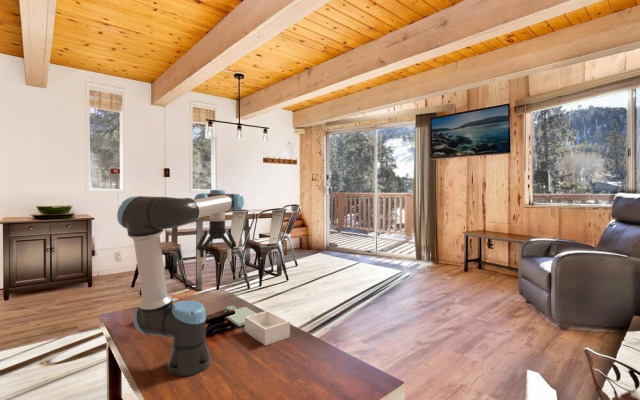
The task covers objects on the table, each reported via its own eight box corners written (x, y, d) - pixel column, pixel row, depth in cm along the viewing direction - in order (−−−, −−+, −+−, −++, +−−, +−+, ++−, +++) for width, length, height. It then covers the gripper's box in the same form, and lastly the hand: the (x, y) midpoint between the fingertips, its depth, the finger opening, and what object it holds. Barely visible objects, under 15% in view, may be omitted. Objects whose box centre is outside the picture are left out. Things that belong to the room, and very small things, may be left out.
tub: (289, 336, 152) (289, 321, 151) (265, 345, 143) (265, 329, 143) (268, 324, 165) (268, 310, 165) (244, 331, 157) (244, 316, 156)
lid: (263, 321, 169) (263, 316, 169) (238, 328, 160) (238, 323, 160) (240, 307, 188) (240, 303, 188) (217, 313, 179) (217, 308, 179)
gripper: (236, 219, 179) (236, 258, 179) (189, 220, 163) (189, 264, 163) (243, 220, 174) (242, 260, 174) (195, 221, 157) (194, 266, 157)
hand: (216, 262), depth 168 cm, fingers open, 13 cm apart
